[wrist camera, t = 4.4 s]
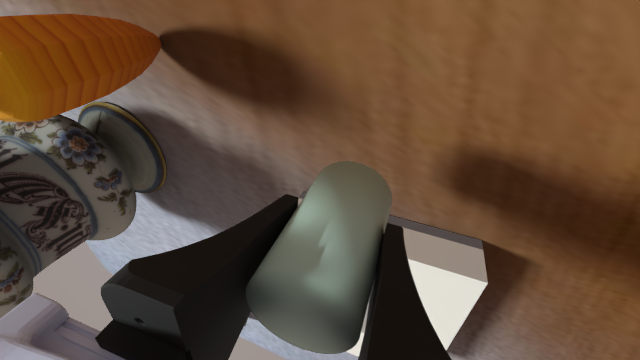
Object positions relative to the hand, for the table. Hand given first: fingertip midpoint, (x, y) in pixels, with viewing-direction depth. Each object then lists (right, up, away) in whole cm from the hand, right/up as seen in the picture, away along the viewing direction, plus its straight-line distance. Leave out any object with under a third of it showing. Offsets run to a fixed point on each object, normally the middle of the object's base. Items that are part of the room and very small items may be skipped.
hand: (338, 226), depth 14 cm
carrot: (-13, +12, +9) cm, 20 cm away
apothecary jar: (-20, +5, +17) cm, 27 cm away
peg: (+1, +1, +2) cm, 2 cm away
